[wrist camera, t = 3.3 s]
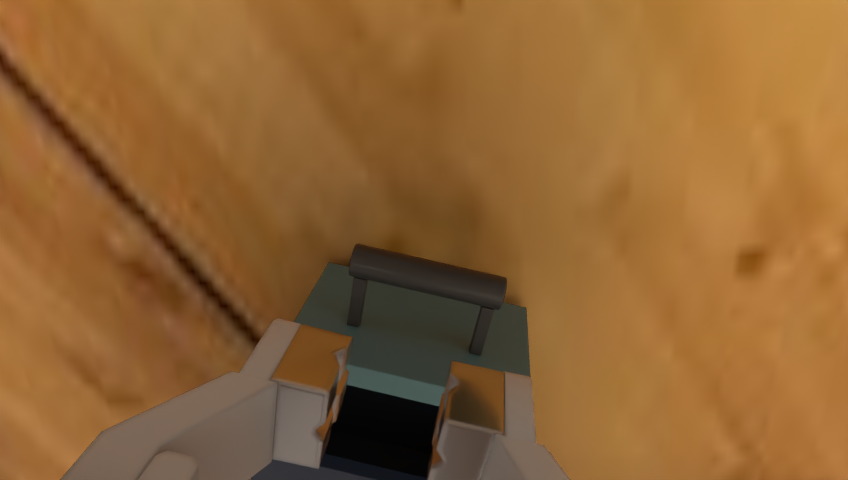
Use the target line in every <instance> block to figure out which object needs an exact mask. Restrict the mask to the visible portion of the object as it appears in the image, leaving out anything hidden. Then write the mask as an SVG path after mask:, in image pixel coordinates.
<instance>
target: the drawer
mask: <svg viewBox="0 0 848 480" xmlns="http://www.w3.org/2000/svg"><path fill="white" fill-rule="evenodd" d="M506 287H507V279H506V278H505V277H501V276H497V275H493V274H488V273H484V272H479V271H475V270H471V269H466V268H462V267H458V266H453V265H449V264H444V263H440V262H436V261H431V260H427V259H422V258H418V257H414V256H409V255H405V254H400V253H396V252H392V251H387V250H383V249H378V248H374V247H370V246H365V245H361V244H356V245H355V247H354V249H353V252H352V255H351V259H350V264H349V267H347V266H342V265H338V264H334V263H328V264H327V266H326V268H325V270H324V271H323V273H322V275H321V276H320V278H319V280H318V282H317V283H316V285H315V287H314V288H313V290H312V292H311V294H310V295H309V297H308V299H307V301H306V302H305V304H304V306H303V307H302V309H301V311H300V313H299V314H298V316H297V318H296V319H295V321H294V322H295V323H299V324H302V325H303V324H304V325H308V326H312V327H316V328H320V329H324V330H328V331H332V332H336V333H340V334H343V335H347V336H351V337H353V340H354V341H353V348H352V355H351V358H350V360H349V363H348V365H347V370H348V371H349V375H348V381H347V386H346V391H345V395H344V398H343V402H342V405H341V409H340V412H339V415H338V418H337V420H336V422H334V423H332V426H331V433H330V439H329V442H328V445H327V448H326V450H325V454H329V455H333V456H337V457H341V458H345V459H350V460H354V461H358V462H362V463H366V464H370V465H374V466H379V467H383V468H387V469H391V470H395V471H399V472H404V473H408V474H412V475H416V476H420V477H424V478H427V471H428V464H429V460H430V456H431V452H432V448H433V445H432V438H433V432H434V426H435V421H436V417H437V412H438V408H439V404H440V400H441V396H442V394H443V393H444V390H445V384H446V377H447V373H448V369H449V366H450V363H451V360H453V361H458V362H462V363H467V364H471V365H475V366H480V367H484V368H489V369H493V370H497V371H502V372H504V371H505V372H510V373H515V374H520V375H524V376H529V377H530V361H529V344H528V326H527V309H526V307H521V306H517V305H513V304H508V303H504V302H503V301H504V297H505V293H506Z"/></svg>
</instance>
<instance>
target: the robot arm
mask: <svg viewBox="0 0 848 480" xmlns="http://www.w3.org/2000/svg"><path fill="white" fill-rule="evenodd" d="M353 341H354V340H353V337H351V336H347V335H343V334H340V333H336V332H332V331H328V330H324V329H320V328H316V327H312V326H308V325H304V324H303V325H302V324H299V323H295V322H291V321H287V320H283V319H279V318H277V319H275V320H274V321H272V322H271V324H270V325H269V327H268V329H267V330H266V332H265V333H264V335H263V336H262V338H261V339H260V341H259V342H258V344H257V346H256V347H255V349H254V350H253V352H252V353H251V355H250V356H249V358H248V360H247V361H246V363H245V364H244V366H243V367H242V369H241V370H240V372H239V373H236V372H232V371H231V372H229V373H226V374H224V375H222V376H220V377H218V378H216V379H213V380H211V381H209V382H207V383H205V384H203V385H201V386H198V387H196V388H194V389H192V390H190V391H188V392H185V393H183V394H181V395H179V396H177V397H175V398H173V399H170V400H168V401H166V402H164V403H162V404H160V405H157V406H155V407H153V408H151V409H149V410H147V411H145V412H142V413H140V414H138V415H136V416H134V417H132V418H129V419H127V420H125V421H123V422H121V423H119V424H117V425H114V426H112V427H110V428H108V429H106V430H104V431H102V432H101V433H100V434H99V435H98V436H97V437H96V439H95V440H94V441H93V442H92V443H91V444H90V446H89V447H88V448H87V449H86V450H85V451H84V453H83V454H82V455H81V456H80V457H79V458H78V460H77V461H76V462H75V463H74V464H73V465H72V466H71V468H70V469H69V470H68V471H67V472H66V473H65V475H64V476H63V477H62V478H61V479H60V480H249V479H250V478H251V477H253V476H254V475H255V474H257V473H258V472H259V471H260V470H262V469H263V468H264V467H266V466H267V465H268V464H269V463H271V462H272V459H274V460H279V461H283V462H288V463H293V464H298V465H302V466H307V467H312V468H317V469H319V466H320V464H321V461H322V458H323V456H324V453H325V450H326V448H327V445H328V442H329V439H330V433H331V426H332V423H334V422H336V420H337V418H338V415H339V412H340V409H341V405H342V402H343V398H344V395H345V391H346V386H347V381H348V375H349V371H348V370H347V365H348V363H349V360H350V358H351V355H352V348H353ZM432 445H433V448H432V452H431V456H430V460H429V464H428V471H427V478H426V480H570V478H569V477H568V476H567V475H566V473H565V472H564V471H563V469H562V468H561V467H560V465H559V464H558V463H557V461H556V460H555V459H554V458H553V456H552V455H551V454H550V452H549V451H548V450H547V448H546V447H545V446H544V445H541V444H536V432H535V418H534V403H533V388H532V380H531V378H530V377H529V376H524V375H520V374H515V373H510V372H505V371H504V372H502V371H497V370H493V369H489V368H484V367H480V366H475V365H471V364H467V363H462V362H458V361H453V360H451V363H450V366H449V369H448V373H447V377H446V384H445V390H444V393H443V394H442V396H441V400H440V404H439V408H438V412H437V417H436V421H435V426H434V432H433V438H432Z"/></svg>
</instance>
